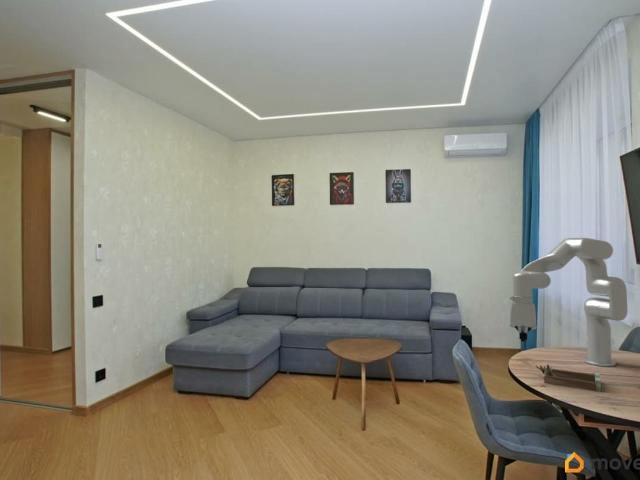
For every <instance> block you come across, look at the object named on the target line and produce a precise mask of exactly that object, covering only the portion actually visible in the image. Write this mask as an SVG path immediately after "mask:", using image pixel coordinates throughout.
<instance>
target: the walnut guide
mask: <svg viewBox="0 0 640 480" xmlns="http://www.w3.org/2000/svg"><path fill="white" fill-rule="evenodd" d="M545 369H547V367H545ZM552 372H553V373H555V374H556V375H557V376H558V377H556V376H549V375H544V374H543V378H544V379H543V381H544V383H545V384H549V385H556V386H563V387H568V388H569V387H570V388H576V389H581V390H588V391H595V392H602V385H601V384H602V383H601V376H600V372H596V371H595V372H594V373H588V372H587V373H586V372H581V371H572V370H565V369H558V368H552Z"/></svg>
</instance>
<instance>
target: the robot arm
mask: <svg viewBox="0 0 640 480" xmlns="http://www.w3.org/2000/svg"><path fill="white" fill-rule="evenodd" d="M613 253H614V248H613V246H612V244H611V243H610V242H609V241H605V240H599V239H595V238H588V237H567V238H564V239H563V240H562V241H560V242H559V243H558V244H557V246H555V247H554V248H553V249H552V250H551V251H550V252H549V253H548V254H547V255H545V256H544V255H543V256H541V257H540V258H537V259H536V260H533V261H531V262H529V263H528V264H526V265H525V266H524V267H523V268H522V269H520V271H519V272H515V273H514V274H513V277H512V281H513V282H512V283H513V290H512V291H513V296H510V297H509V300H510V301H512V302H511V303H510V311H509V312H510V314H509V324H510V325H509V327H510V328H514V329H516V330H517V332H518V333H519V340H520V341H521V342H523V343H526V341H527V340H528V333H529V332H530V331H531V330H532V331H533V330H537V328H538V326H537V312H536V307H535V303H533V289H539V290H542V289H543V290H544V289H546V288H548V287H549V286H550V285H551V277H550V275H549V274H547V273H549V272H555V271H558V270H562V269H563V268H564V267H565V266H566V265H568V263H569V262H570V261H571V260H572V259H574V258H575V257H577V258H578V259H579V260H580V261H581V262H582V263H583V265H584V267H585V269H584V270H585V280H586V281H585V282H586V283H585V284H586V289H587V292H588V293H589V294H591V295H595V296H599V297H589V298H587V299H586V300H585V301H584V303H583V310H584V314H585V318H586V338H587V339H586V340H587V341H586V345H587V346H586V347H587V348H586V349H587V351H586V352H587V356H585V357H584V358H583V361H584V363H587V364H589V365H593V366H597V367H614V366H616V361H615V360H613V359H612V327H611V324H610V322H609V320H610V321H618V322H619V321H623V320H625V319H626V318H627V315H628V311H629V310H628V291H627V286H626V283H625V282H624V280H623V279H622V278H620V277H617V276H608V271H607V263H606V262H605V260H608V259H610V258H611V257H612V255H613ZM600 296H602V297H600ZM604 297H608V298H604ZM522 327H524V330H523V328H522Z"/></svg>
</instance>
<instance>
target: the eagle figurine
mask: <svg viewBox="0 0 640 480" xmlns="http://www.w3.org/2000/svg"><path fill="white" fill-rule="evenodd" d="M546 364H547V365H546V366H545V365H544V367H543V366H542V365H540V366H538V365H535V367H536V368H537V369H538V370H539V371H541V373H542V374H543V376H544V375H549V376H556V377H558V376H557V375H556V374H555V373H553V372H552V369H553V368H552V366H551V365H550V364H548V363H546ZM546 368H547V369H546ZM543 380H544V377H543Z"/></svg>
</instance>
